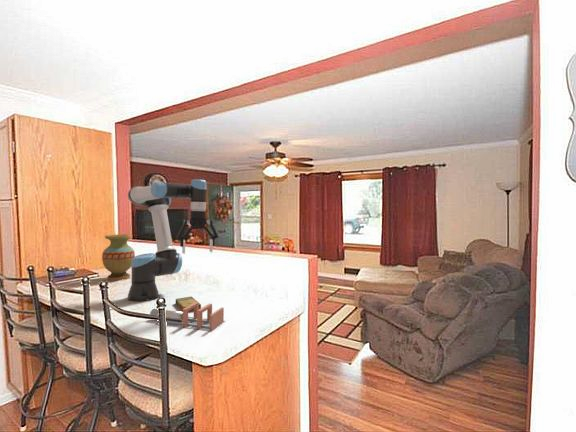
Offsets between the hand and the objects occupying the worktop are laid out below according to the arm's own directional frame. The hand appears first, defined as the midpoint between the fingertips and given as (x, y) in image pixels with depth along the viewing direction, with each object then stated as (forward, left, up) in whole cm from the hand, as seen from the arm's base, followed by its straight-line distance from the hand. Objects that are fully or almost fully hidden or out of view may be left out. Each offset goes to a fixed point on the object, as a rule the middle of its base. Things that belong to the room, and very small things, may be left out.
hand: (197, 252), depth 152 cm
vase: (-83, +37, -27) cm, 95 cm away
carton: (-1, -6, -27) cm, 28 cm away
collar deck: (+12, -24, -27) cm, 38 cm away
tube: (+1, -24, -26) cm, 35 cm away
